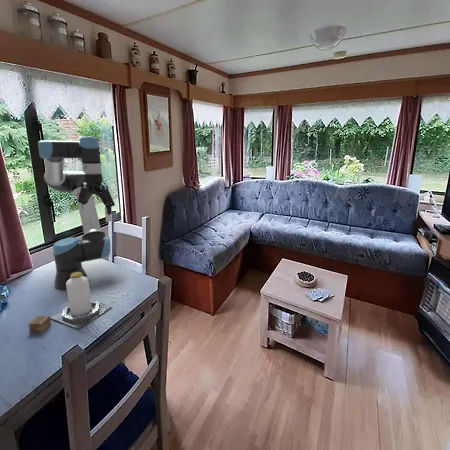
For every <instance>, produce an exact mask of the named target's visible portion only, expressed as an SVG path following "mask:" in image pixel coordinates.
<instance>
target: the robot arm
mask: <svg viewBox="0 0 450 450" xmlns="http://www.w3.org/2000/svg"><path fill="white" fill-rule="evenodd" d="M37 146H38V152H39V153H38V154H39V157H40V159H44V165H45V172H44V174H43V179H44V182H45V183H46V185H47V186H48V187H49V188H51V189H53V190H55V191H56V192H59V193H72V196H74V197H75V198H76V202H77V207H78V212H79V216H80V220H81V224H82V230H83V235H81V239H79V238H78V237H77V236H76V237H75V236H74V237H66V238H62V239H59V240H58V241H56V242H55V243H54V244H53V246H52V251H53V252H52V255H53V258H54V264H55V271H56V272H55V277H54V287H55V288H56V289H58V290H67V288H66V282H67V281H68V280H69V279H71V274H72V273H74V272H81V273H82V276H84V277H86V278H88V274H87V273H86V270H85V269H84V268H83V263H84V262H85V263H86V262H90V261H95V260H101V259H105V258H108V257H109V256H110V254H111V238H110V235H106V233H105V231H103V230H102V229H101V224H100V221H99V220H100V219H99V215H98V211H97V207H96V203H95V199H94V195H96V196H97V197H99V199H100V200H101V202H102V203H103V205H104V214H105V222H106V223H108V222H112V221H113V219H112V214H113V212H112V211H113V209H112V207H115V206H116V204H115V202H114V199H113V196H112V195H111V193H110V189H109V186H108V185H107V184H102V182H103V174H102V171H103V169H102V163H101V162H102V161H101V152H100V143H99V138H98V137H97V136H80V137H78V140H74V141H73V140H50V139H47V140H39V141H38V142H37ZM65 159H81V165H82V170H78V171H77V170H71V171H70V170H69V171H64V167H65V166H64V164H65Z"/></svg>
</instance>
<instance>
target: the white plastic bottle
mask: <svg viewBox="0 0 450 450" xmlns="http://www.w3.org/2000/svg"><path fill="white" fill-rule="evenodd" d="M89 282H90V281H89V279H88V277H87V278H86V277H84V276H82V273H81V272H74V273H72V274H71V279H69V280H68V281H67V282H66V288H67V289H66V293H67V301H68V306H69V307H70V313H71V314H72V315H73V316H82V315H86V314H88V313H89V312H90V311H91V309H92V304H91V300H92V297H91V291H90V283H89Z"/></svg>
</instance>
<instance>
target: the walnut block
mask: <svg viewBox="0 0 450 450" xmlns="http://www.w3.org/2000/svg"><path fill="white" fill-rule="evenodd" d="M50 317H51V316H50V315H49V316H48V315H36V316H35V317H34V318H33V319H32V320H30V321H29V323H28V325H27V326H28V329H29V332H30V333H44V332H45V331H46V330H47V329H48V328H49V327H50V326H51V319H50Z"/></svg>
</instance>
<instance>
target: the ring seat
mask: <svg viewBox="0 0 450 450" xmlns="http://www.w3.org/2000/svg"><path fill="white" fill-rule="evenodd" d="M91 304H92V309H91V311H90V312H89V313H88V314H86V315H82V316H73V315H72V314H71V313H70V307H69V305H67V306H65V307H64V308H63V309H62V310H60V311H58V312H57V313H55V314H53V315H52V316H49V317H50V320H52V321H55V322H57V323H60V324H61V325H62V324H63V325H64V326H67V327H69V328H72V329H75V330H77V331H80V330H81V329H83V328H84V327H86V326H87V325H88V324H90V323H92V322H93V321H95V320H96V319H97V318H99V317H101V316H102V315H104V314H105V313H106V312H108V311H109V310H111V309H112V308H113V306H111V305H107V304H104V303H101V302H100V301H96V300H93V299H91Z"/></svg>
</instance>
